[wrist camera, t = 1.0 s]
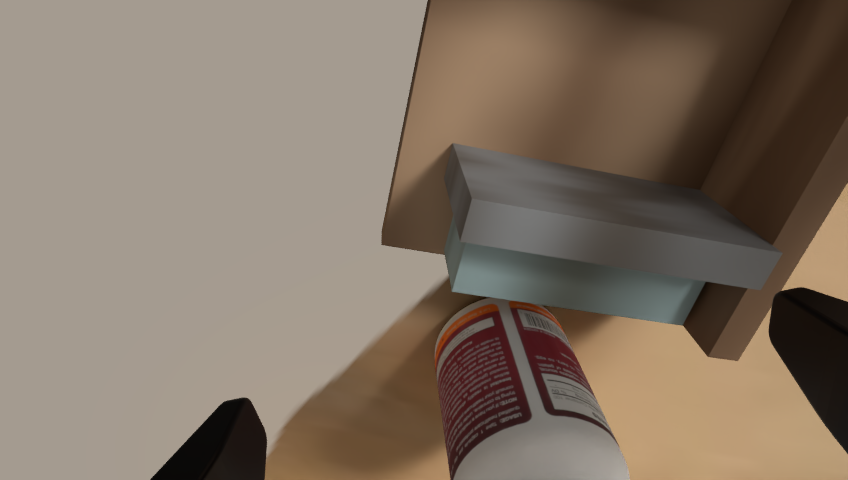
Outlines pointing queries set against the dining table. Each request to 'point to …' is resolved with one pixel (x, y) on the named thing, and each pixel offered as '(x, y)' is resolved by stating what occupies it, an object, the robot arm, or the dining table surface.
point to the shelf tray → (625, 153)
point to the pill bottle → (519, 399)
